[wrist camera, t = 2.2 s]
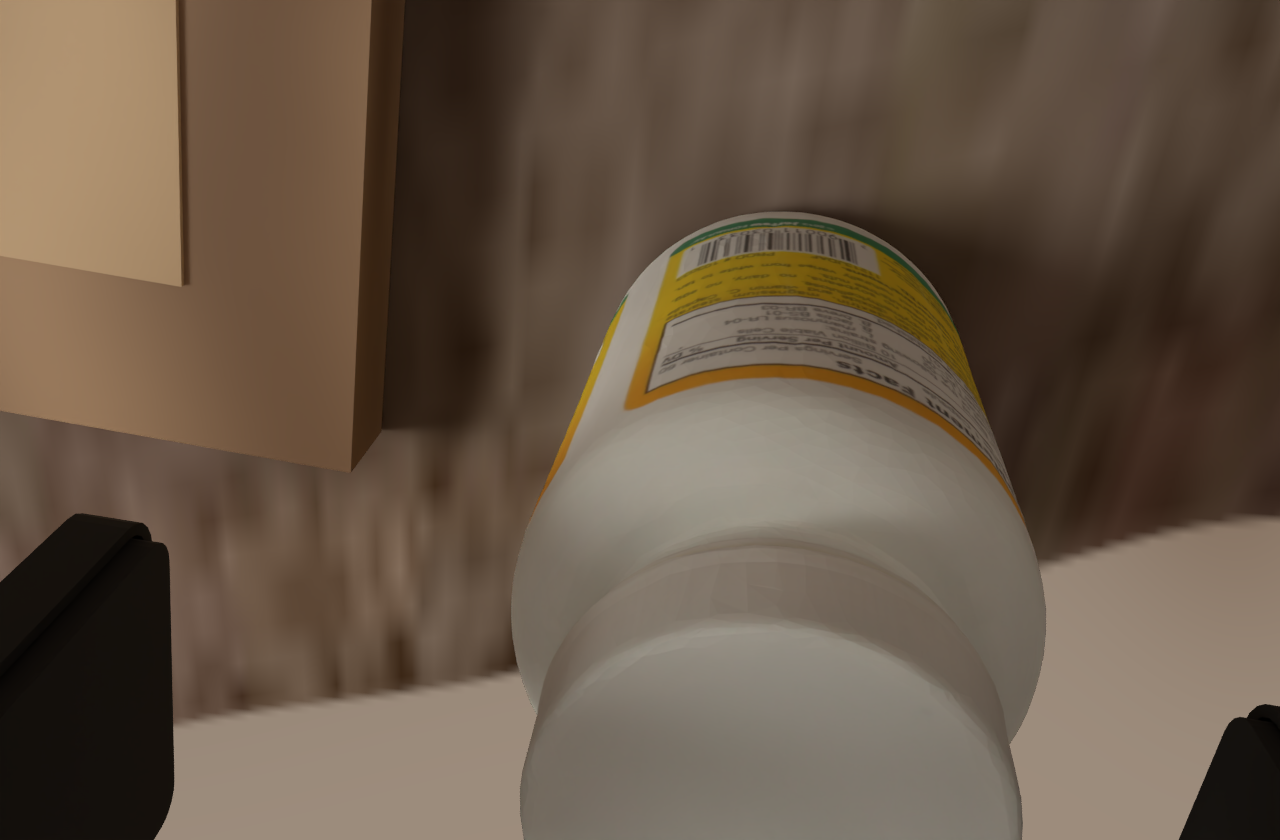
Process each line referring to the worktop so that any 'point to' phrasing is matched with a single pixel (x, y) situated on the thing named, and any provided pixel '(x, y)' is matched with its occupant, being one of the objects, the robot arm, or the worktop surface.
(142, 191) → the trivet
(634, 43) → the worktop surface
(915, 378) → the supplement bottle
